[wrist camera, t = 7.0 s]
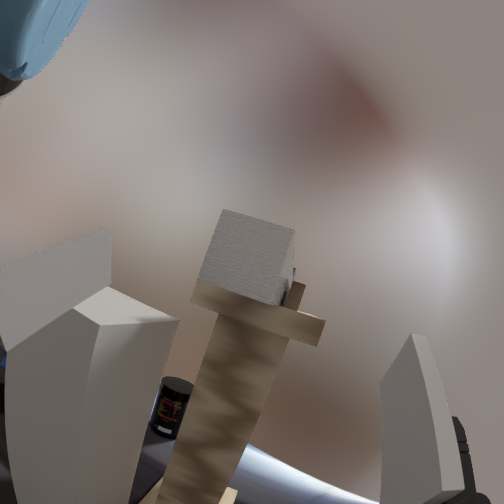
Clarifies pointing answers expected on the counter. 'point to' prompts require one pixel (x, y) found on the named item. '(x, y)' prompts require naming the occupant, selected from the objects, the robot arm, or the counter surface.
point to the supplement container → (170, 406)
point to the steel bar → (250, 258)
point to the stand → (229, 391)
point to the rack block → (84, 400)
